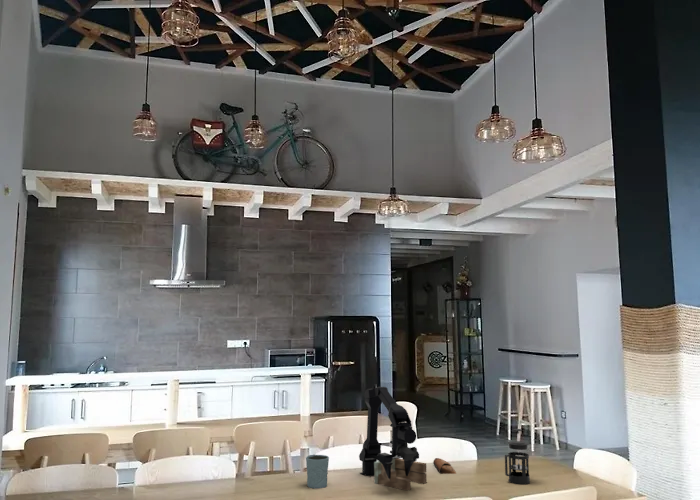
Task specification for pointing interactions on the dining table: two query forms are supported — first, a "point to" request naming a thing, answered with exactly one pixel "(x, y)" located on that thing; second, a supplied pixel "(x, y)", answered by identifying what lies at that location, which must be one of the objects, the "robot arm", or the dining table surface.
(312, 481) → the grey-green cup
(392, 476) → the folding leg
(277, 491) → the dining table surface
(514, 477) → the french press
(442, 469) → the sunglasses case
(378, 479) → the brown wooden crate
